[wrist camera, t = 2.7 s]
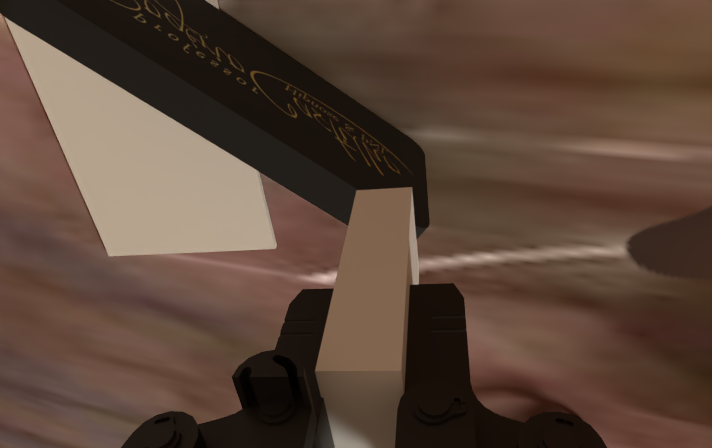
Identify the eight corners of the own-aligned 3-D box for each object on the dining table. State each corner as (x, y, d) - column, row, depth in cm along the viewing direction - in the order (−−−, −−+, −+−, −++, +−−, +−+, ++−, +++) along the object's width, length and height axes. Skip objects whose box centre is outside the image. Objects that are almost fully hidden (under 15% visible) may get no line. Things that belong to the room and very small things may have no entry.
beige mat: (111, 253, 42) (109, 256, 42) (-67, -159, 29) (-73, -160, 29) (276, 245, 40) (275, 248, 40) (167, -203, 27) (164, -204, 26)
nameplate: (99, -32, 31) (-17, 5, 22) (110, -64, 30) (-5, -38, 21) (406, 169, 36) (406, 261, 27) (424, 147, 35) (430, 235, 27)
